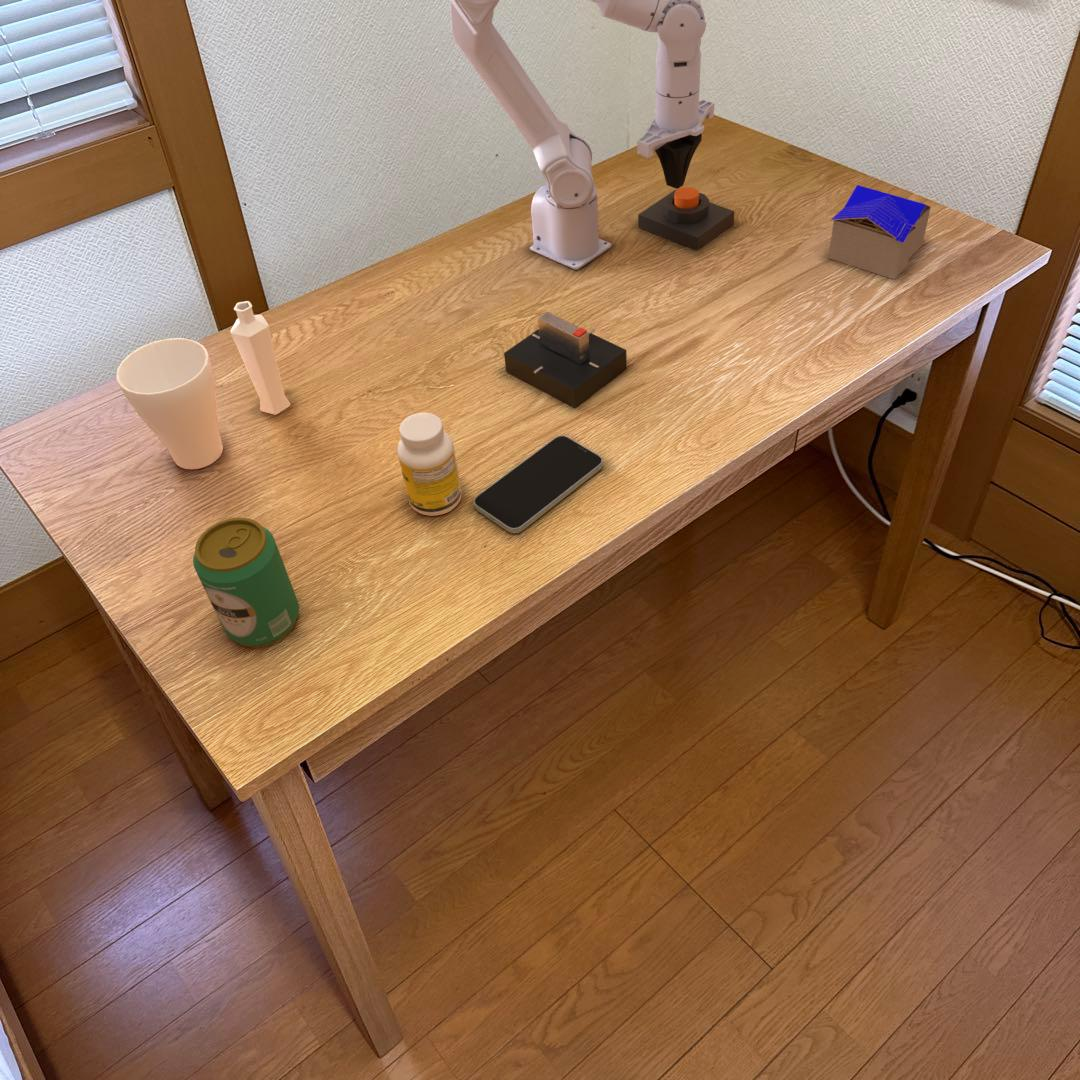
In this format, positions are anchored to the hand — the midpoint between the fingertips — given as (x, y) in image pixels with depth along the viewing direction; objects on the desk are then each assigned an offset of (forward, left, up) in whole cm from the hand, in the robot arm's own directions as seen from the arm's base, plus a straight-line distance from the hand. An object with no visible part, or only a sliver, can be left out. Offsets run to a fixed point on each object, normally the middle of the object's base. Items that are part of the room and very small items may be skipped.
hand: (674, 185), depth 147 cm
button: (-2, +5, -6) cm, 8 cm away
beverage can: (+10, -83, -10) cm, 84 cm away
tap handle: (+7, -32, -6) cm, 33 cm away
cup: (-18, -72, -10) cm, 75 cm away
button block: (-2, +5, -9) cm, 11 cm away
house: (+24, +15, -10) cm, 30 cm away
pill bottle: (+11, -59, -10) cm, 61 cm away
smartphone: (+19, -50, -9) cm, 54 cm away
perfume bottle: (-18, -60, -10) cm, 63 cm away
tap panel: (+7, -32, -9) cm, 34 cm away
